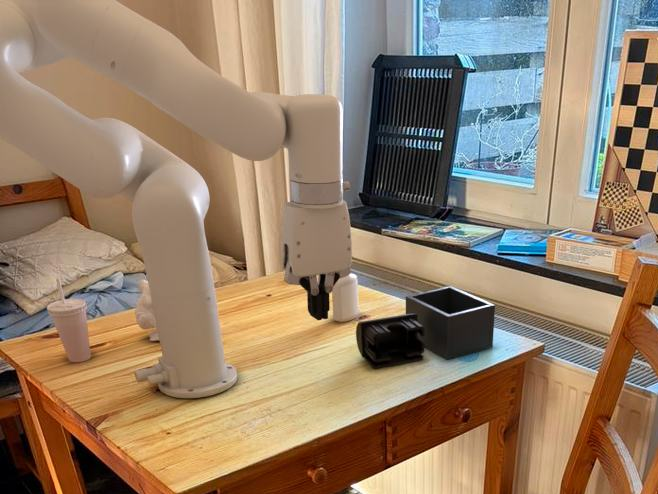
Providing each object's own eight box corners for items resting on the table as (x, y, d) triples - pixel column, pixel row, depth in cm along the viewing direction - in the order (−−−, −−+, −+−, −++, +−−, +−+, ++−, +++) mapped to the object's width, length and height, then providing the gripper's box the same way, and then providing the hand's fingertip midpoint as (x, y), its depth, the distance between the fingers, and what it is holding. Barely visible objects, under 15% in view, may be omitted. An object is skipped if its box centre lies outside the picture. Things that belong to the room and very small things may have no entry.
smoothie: (81, 348, 135) (62, 271, 128) (106, 354, 132) (88, 276, 125) (53, 361, 131) (30, 282, 123) (78, 368, 128) (57, 287, 120)
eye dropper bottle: (364, 318, 143) (362, 255, 136) (336, 323, 141) (333, 259, 135) (355, 311, 146) (353, 249, 140) (328, 316, 145) (324, 254, 138)
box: (446, 360, 125) (448, 316, 121) (405, 337, 134) (405, 296, 130) (492, 347, 129) (495, 304, 124) (449, 326, 138) (450, 285, 134)
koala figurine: (188, 339, 137) (177, 274, 131) (154, 349, 134) (141, 282, 127) (167, 327, 143) (156, 264, 137) (134, 336, 140) (121, 272, 133)
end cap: (410, 345, 131) (410, 308, 127) (427, 360, 125) (427, 321, 121) (356, 355, 128) (354, 317, 124) (370, 370, 122) (369, 331, 119)
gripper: (349, 183, 113) (348, 302, 122) (257, 192, 106) (264, 317, 116) (374, 192, 107) (372, 316, 117) (279, 202, 101) (285, 333, 111)
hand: (318, 316), depth 116 cm, fingers closed
